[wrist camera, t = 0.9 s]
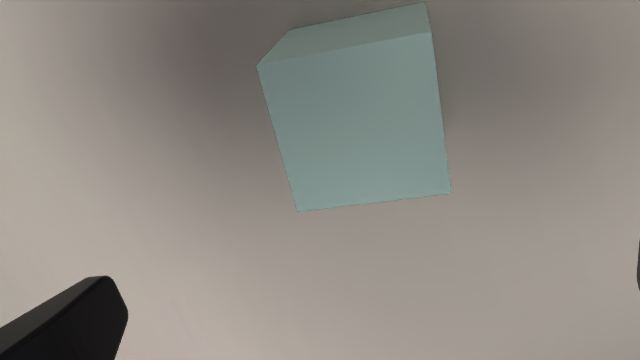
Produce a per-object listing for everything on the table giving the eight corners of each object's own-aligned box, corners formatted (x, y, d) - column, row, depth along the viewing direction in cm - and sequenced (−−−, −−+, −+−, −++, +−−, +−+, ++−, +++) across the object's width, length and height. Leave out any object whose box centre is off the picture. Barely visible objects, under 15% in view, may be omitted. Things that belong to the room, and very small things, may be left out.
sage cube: (441, 131, 20) (451, 193, 16) (319, 149, 21) (297, 211, 17) (424, 1, 18) (431, 31, 13) (289, 29, 19) (255, 65, 15)
